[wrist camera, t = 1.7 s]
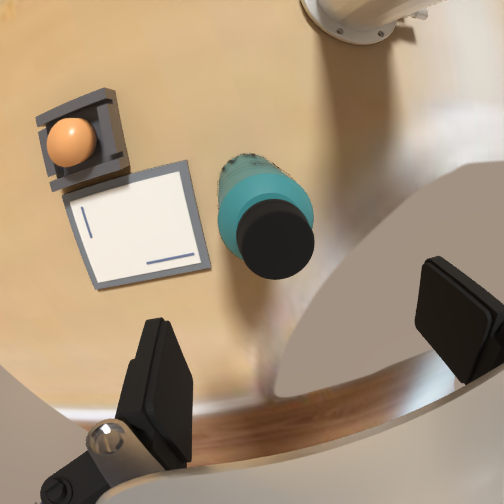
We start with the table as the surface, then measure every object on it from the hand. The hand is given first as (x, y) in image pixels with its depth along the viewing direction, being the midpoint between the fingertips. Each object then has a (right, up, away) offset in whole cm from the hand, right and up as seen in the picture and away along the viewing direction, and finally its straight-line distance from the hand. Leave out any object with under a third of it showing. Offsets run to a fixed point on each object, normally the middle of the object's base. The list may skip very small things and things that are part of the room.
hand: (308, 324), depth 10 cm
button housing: (-21, +15, +19) cm, 32 cm away
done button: (-20, +14, +16) cm, 30 cm away
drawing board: (-16, +5, +24) cm, 29 cm away
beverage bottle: (-3, +11, +23) cm, 26 cm away
